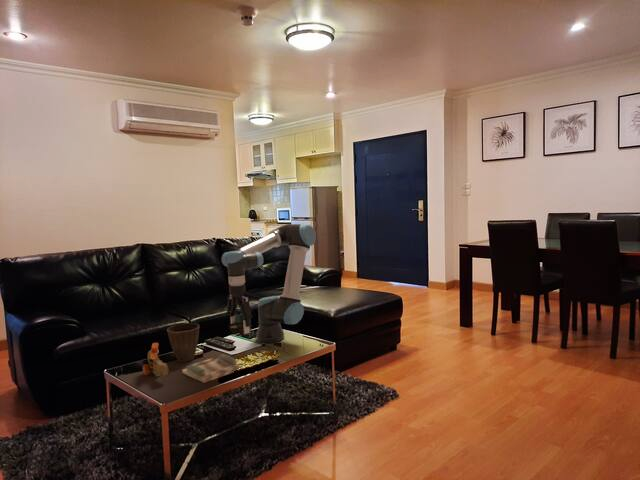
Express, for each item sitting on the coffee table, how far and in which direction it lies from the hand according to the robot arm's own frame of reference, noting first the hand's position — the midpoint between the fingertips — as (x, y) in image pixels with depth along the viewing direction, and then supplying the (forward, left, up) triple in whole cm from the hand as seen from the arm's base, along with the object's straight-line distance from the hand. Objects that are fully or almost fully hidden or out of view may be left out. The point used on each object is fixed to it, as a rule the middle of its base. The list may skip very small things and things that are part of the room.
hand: (240, 331), depth 208 cm
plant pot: (+15, -25, -15) cm, 33 cm away
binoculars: (0, 0, -1) cm, 1 cm away
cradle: (+16, -1, -15) cm, 22 cm away
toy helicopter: (+34, -15, -15) cm, 40 cm away
